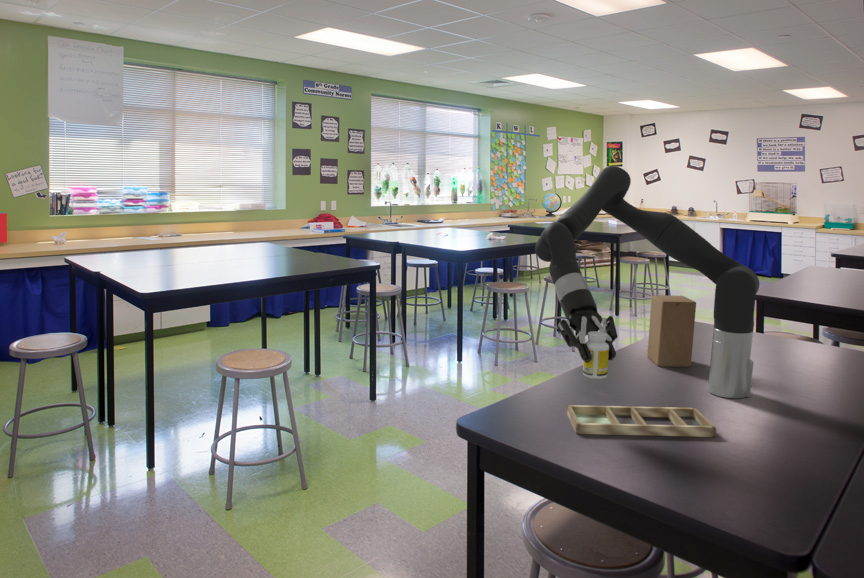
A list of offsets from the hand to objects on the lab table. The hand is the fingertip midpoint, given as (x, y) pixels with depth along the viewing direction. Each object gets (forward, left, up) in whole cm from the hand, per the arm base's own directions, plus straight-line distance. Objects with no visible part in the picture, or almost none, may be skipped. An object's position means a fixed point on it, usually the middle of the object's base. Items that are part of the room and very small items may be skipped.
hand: (600, 359), depth 136 cm
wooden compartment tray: (-10, -1, -16) cm, 18 cm away
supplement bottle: (+1, -2, -4) cm, 5 cm away
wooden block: (-34, -51, -16) cm, 64 cm away
